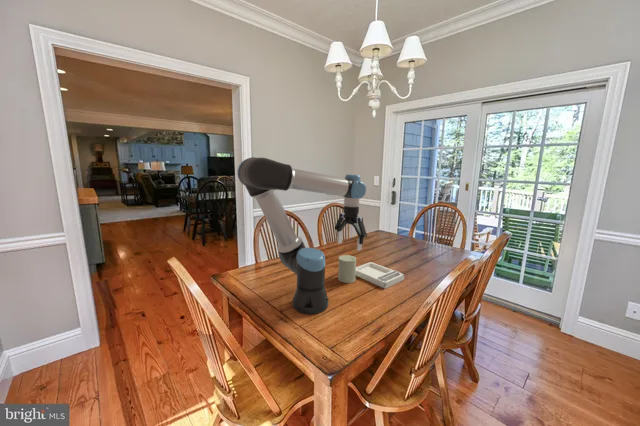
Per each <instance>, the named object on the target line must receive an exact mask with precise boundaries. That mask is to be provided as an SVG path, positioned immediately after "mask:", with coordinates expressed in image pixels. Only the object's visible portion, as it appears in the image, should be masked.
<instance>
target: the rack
mask: <svg viewBox="0 0 640 426" xmlns="http://www.w3.org/2000/svg"><path fill="white" fill-rule="evenodd" d="M355 277H358V278H361V279H363V280H365V281H367V282H368V283H369V282H370V283H371V284H374V285H376V286H378V287H380V288H381V289H382V288H383V289H385V290H386V289H388V288H390V287H391V286H392V287H393V286H394V285H396V284H399V283H401V282H402V280H403V281H404V280H405V274H404V273H401V272H400V271H398V270H396V269H394V270H393V269H391V268H388V267H386V266H383V265H379V264H377V263H375V262H372V261H369V262H367V263H363V264H360V265H358V266H356V275H355Z"/></svg>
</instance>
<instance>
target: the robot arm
mask: <svg viewBox="0 0 640 426" xmlns="http://www.w3.org/2000/svg"><path fill="white" fill-rule="evenodd" d="M236 175H237V178H238V180H239V181H240V183H241V184H242V185H243V186H245V189H246V191H247V193H248V194H249V196H250V197H251V198H253V199H255V200H256V202H257V203H258V205H259V207H260V210H261V211H262V214H263V215H264V217H265V220H266V222H267V224H268V226H269V228H270V230H271V232H272V233H273V236H274V238H275V239H276V242H277V244H278V246H277V251H278V253H279V254H278V256H279V260H280V262H281V263H282V264H283V265H284V267H286V268H288V269H289V270H290V271H291V272H293V274H295V275H296V290H295V292H294V295H293V298H292V308H293V309H294V310H295V311H297V312H298V313H300V314H301V313H302V314H305V315H315V314H320V313H322V312H324V311H326V310H327V308H328V307H329V297H328V295H327V290H326V287H325V286H326V285H325V280H326V278H325V276H326V256H325V254H324V252H323V251H322V250H320V249H318V248H313V247H306V245H305V243H304V241H303V239H302V237H300V236H297V234H296V232H295V229H294V227H293V225H292V223H291V220H290V219H289V217H288V214H287V213H286V210H285V208H284V206H283V203H282V202H281V200H280V198H279V195H278V193H277V191H284V192H285V191H288V190H289V189H291V190H297V191H305V192H311V193H318V194H324V195H327V196H329V195H330V196H339V197H343V198H344V199H343V205H344V206H343V212H341V213H339V216H338V219H337V221H336V223H335V226H334V230H336V232H337V233H336V234H337V235H336V237H337V244H338V245H339V244H343V233H344V232H343V229H344V228H345V226H347V224H349V225H352V226H353V228H354V229H355V232H356V234H357V236H358V237H357V242H356V251H361V250H362V248H363V244H364V238H367V237H368V234H367V230H366V228H365V224H364V217H363V216H359V215H358V214H359V213H360V211H359V210H360V207H359V206H360V199H362V198H364V197H365V196H366V192H367V186H366V184H365V182H363V181H361V175H359V174H345V177H344V178H343V177H338V176H334V175H328V174H324V173H318V172H312V171H309V170H308V171H307V170H303V169H302V170H301V169H299V168H293V167H292V165H291V164H287V163H284V162H280V161H276V160H273V159H271V158H267V157H253V156H252V157H249V158H246V159H244V160H242V161H241V162H240V164H239V165H238V168H237V174H236Z"/></svg>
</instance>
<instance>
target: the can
mask: <svg viewBox="0 0 640 426" xmlns="http://www.w3.org/2000/svg"><path fill="white" fill-rule="evenodd" d="M356 267H357V257H356V256H353V255H348V254H345V255H344V254H343V255H340V256H338V271H337V272H338V276H337V280H338V281H339V282H340V283H344V284H352V283H354V282H356Z"/></svg>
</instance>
